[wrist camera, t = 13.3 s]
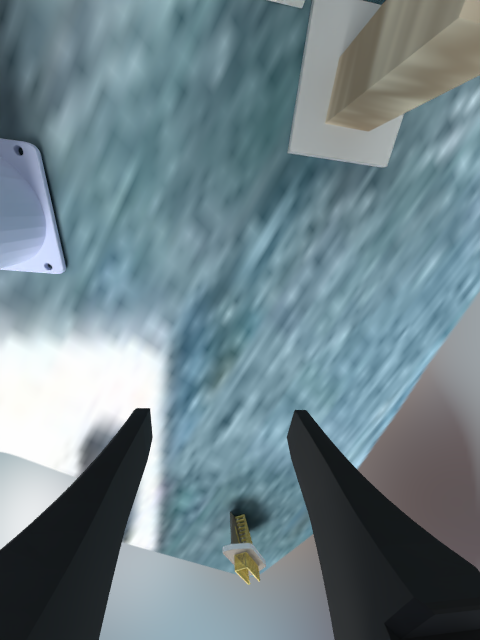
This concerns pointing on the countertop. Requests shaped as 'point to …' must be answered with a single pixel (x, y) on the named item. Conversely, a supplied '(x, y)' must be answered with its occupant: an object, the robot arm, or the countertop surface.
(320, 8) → the mat
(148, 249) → the countertop surface
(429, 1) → the wooden square post
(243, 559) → the gold pronged connector
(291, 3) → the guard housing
